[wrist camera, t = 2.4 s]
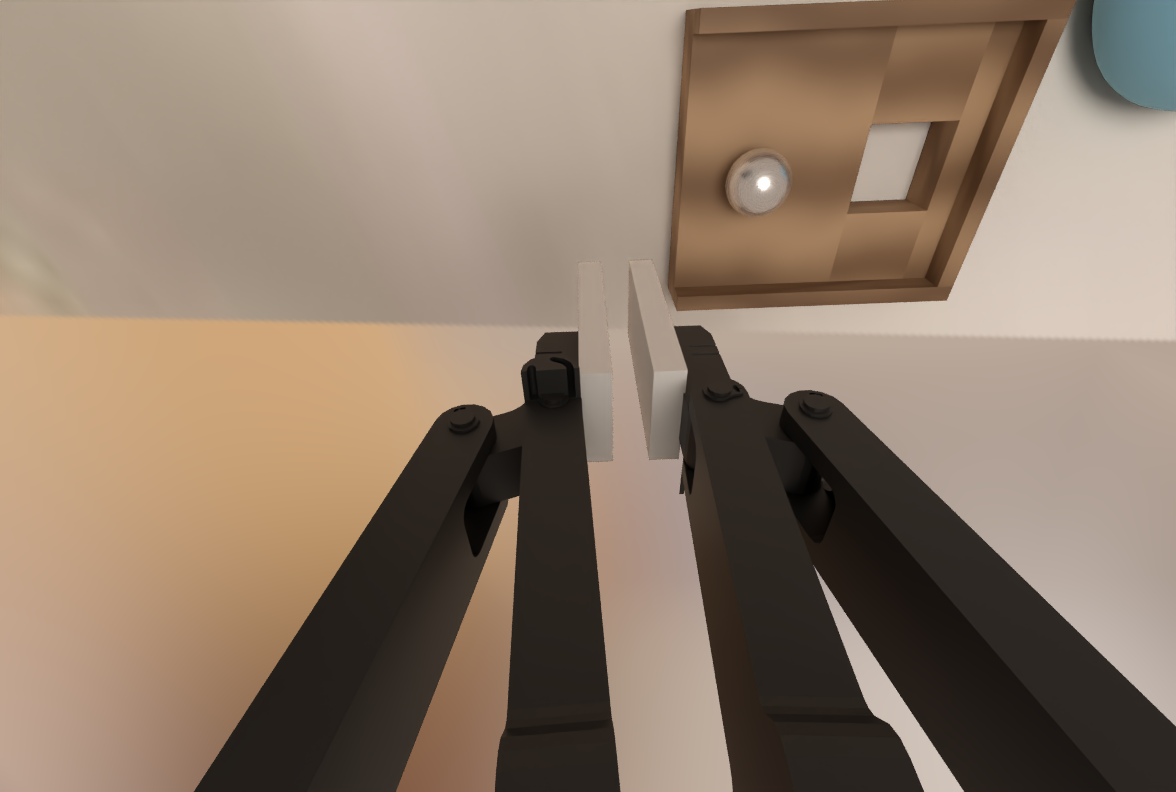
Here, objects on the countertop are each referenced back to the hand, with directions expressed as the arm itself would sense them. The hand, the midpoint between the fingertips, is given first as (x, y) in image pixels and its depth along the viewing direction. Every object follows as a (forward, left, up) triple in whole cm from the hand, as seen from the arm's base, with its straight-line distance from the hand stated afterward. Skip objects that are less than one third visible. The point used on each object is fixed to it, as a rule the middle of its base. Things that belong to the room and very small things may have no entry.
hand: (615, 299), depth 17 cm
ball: (0, +9, -16) cm, 18 cm away
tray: (0, +14, -18) cm, 23 cm away
